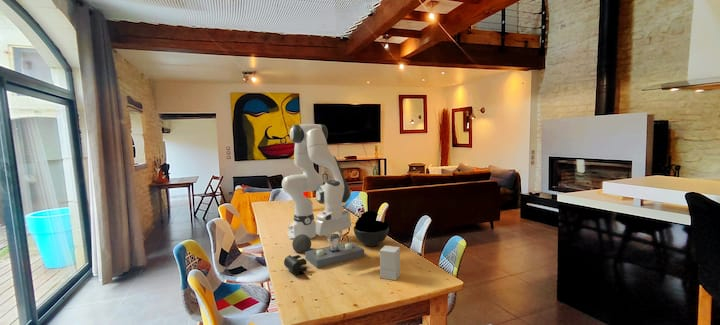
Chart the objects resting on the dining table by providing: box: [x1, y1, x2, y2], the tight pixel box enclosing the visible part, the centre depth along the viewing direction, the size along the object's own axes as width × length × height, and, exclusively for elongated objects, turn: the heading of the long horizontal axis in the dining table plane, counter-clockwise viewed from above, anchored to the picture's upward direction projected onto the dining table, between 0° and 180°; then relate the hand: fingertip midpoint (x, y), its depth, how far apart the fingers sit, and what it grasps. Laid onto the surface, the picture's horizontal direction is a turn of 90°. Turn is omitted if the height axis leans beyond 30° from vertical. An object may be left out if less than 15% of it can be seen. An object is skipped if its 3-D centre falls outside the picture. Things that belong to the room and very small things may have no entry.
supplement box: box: [379, 245, 401, 281], centre depth 145 cm, size 7×7×13 cm
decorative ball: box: [292, 234, 312, 254], centre depth 175 cm, size 10×10×10 cm
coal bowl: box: [353, 210, 390, 247], centre depth 186 cm, size 20×20×19 cm
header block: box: [304, 241, 365, 269], centre depth 165 cm, size 14×26×6 cm, turn 122°
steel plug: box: [330, 233, 340, 253], centre depth 164 cm, size 4×4×11 cm
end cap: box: [283, 254, 308, 277], centre depth 151 cm, size 10×7×7 cm
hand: (334, 240), depth 164 cm, fingers closed on steel plug, 4 cm apart
